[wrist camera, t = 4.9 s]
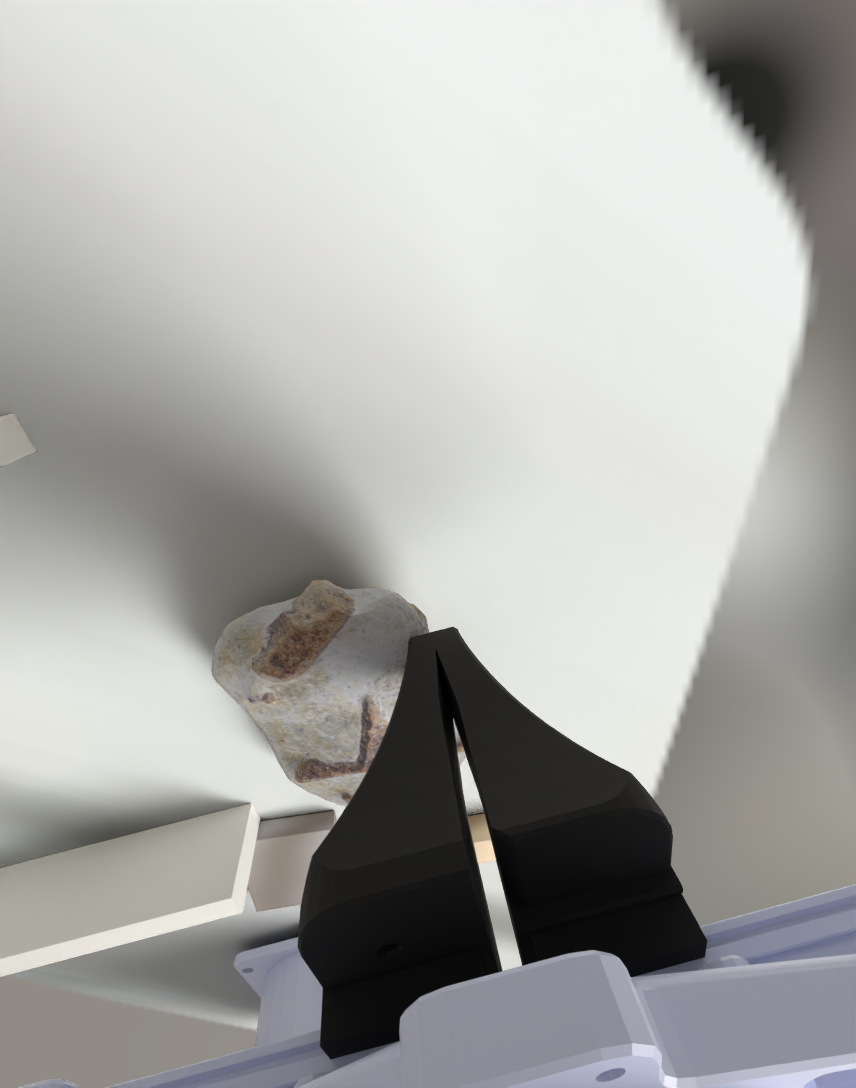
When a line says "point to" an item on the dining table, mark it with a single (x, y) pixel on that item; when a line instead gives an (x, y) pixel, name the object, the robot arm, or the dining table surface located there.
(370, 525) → the dining table surface
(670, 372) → the dining table surface
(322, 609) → the stone
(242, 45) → the dining table surface
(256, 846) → the scoop
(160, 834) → the bin
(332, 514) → the dining table surface
